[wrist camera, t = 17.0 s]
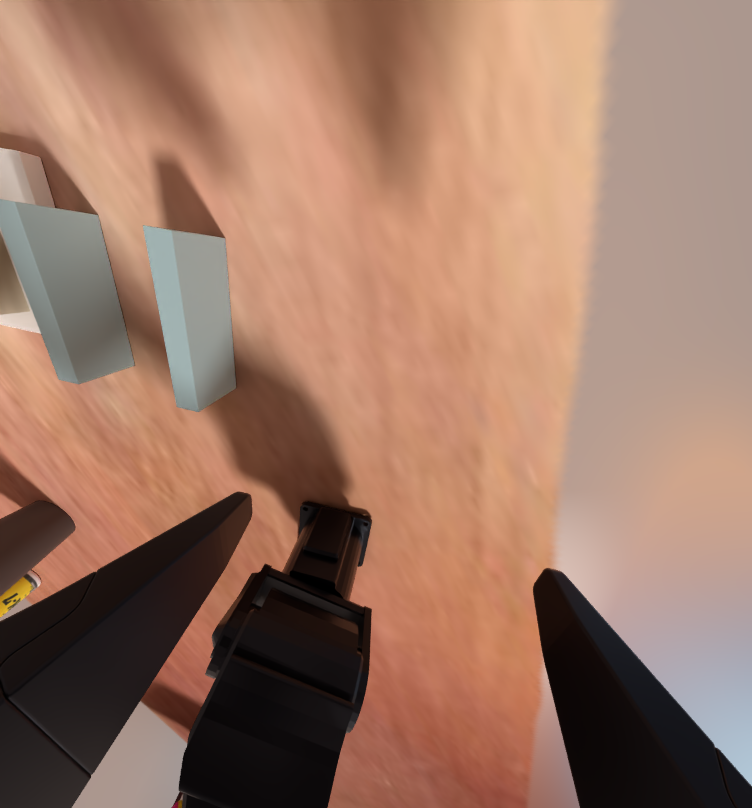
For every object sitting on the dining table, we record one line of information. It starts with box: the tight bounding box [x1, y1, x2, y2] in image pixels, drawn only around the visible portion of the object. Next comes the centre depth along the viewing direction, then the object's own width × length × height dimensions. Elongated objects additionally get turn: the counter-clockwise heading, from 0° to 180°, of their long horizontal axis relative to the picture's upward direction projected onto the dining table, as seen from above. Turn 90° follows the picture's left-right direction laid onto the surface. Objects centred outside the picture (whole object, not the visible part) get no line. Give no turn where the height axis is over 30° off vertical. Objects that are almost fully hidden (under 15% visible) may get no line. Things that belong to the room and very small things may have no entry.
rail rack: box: [0, 199, 236, 412], centre depth 18 cm, size 10×10×4 cm
